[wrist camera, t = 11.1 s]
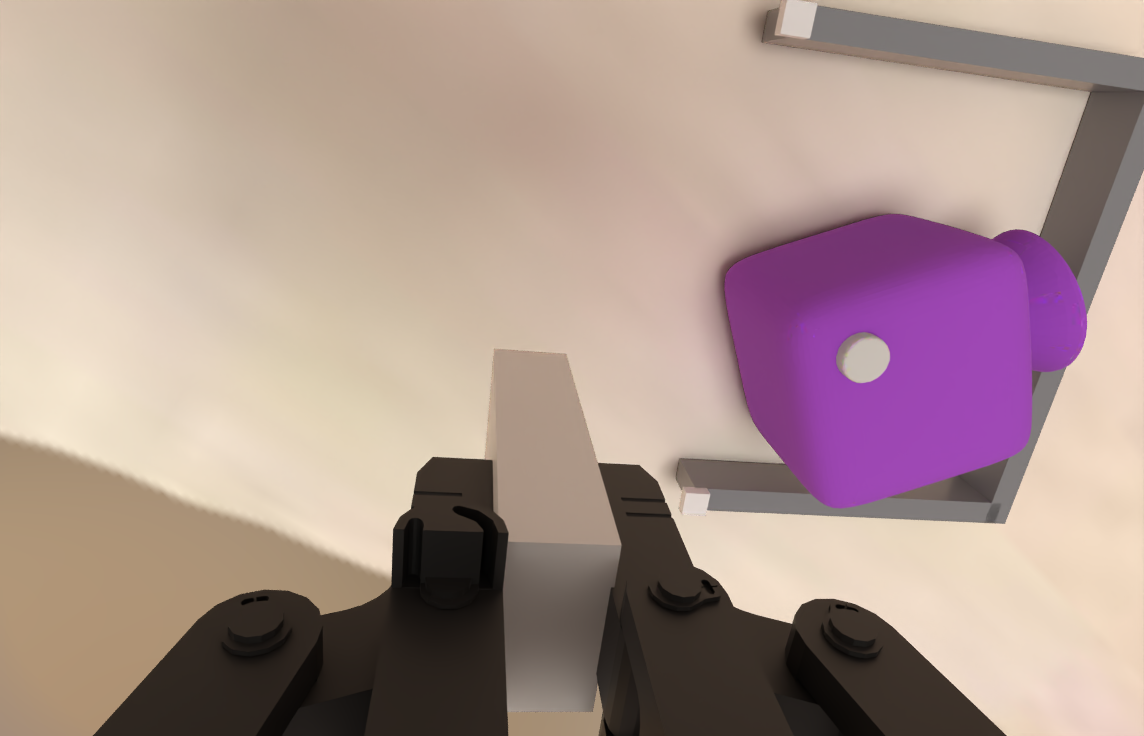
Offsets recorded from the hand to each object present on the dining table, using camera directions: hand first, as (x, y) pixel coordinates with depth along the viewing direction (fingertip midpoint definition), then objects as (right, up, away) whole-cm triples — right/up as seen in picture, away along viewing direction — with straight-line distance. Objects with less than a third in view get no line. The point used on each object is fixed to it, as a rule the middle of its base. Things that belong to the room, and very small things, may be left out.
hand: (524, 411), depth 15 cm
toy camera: (+15, +4, +20) cm, 25 cm away
